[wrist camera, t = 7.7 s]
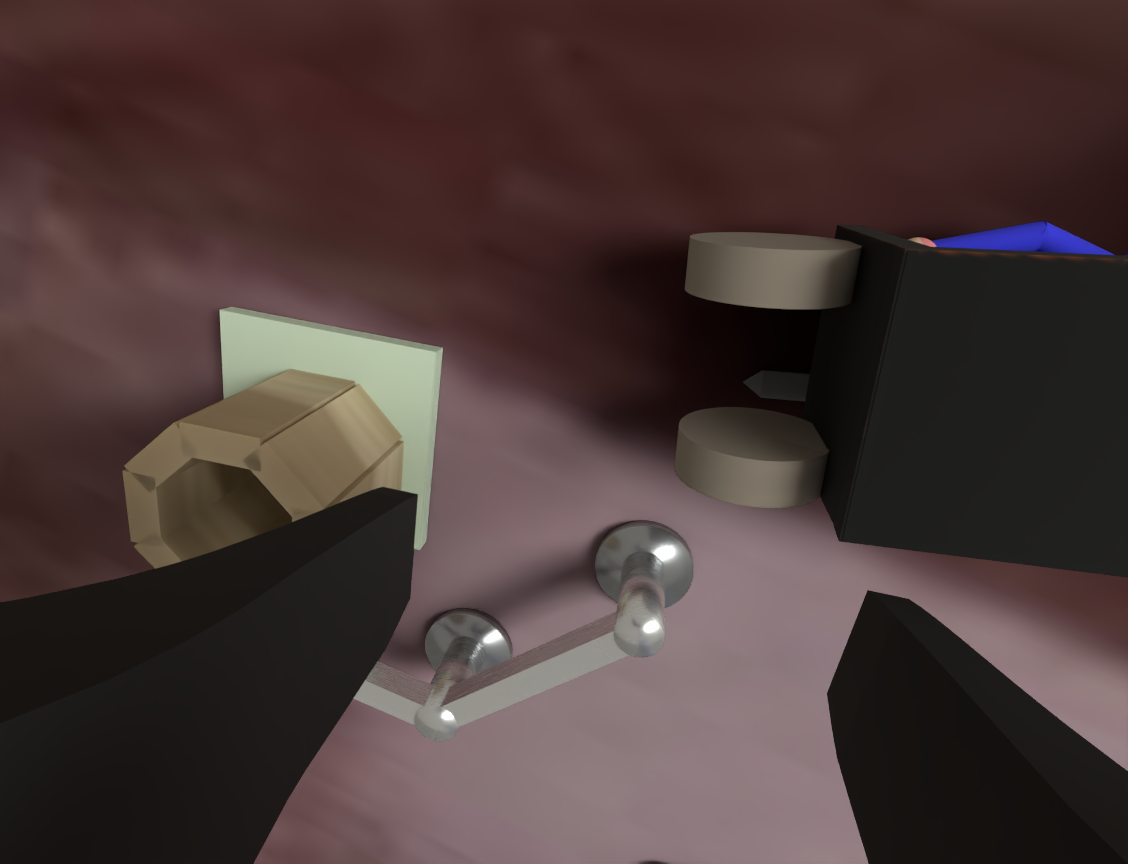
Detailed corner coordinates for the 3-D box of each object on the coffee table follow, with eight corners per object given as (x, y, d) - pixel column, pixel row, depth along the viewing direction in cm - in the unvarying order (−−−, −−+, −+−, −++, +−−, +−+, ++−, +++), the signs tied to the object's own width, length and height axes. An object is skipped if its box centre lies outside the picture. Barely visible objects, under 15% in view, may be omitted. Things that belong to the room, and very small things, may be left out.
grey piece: (651, 723, 24) (648, 815, 20) (265, 630, 25) (199, 702, 21) (703, 532, 21) (710, 602, 17) (261, 438, 22) (183, 485, 18)
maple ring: (398, 543, 22) (325, 637, 17) (247, 510, 22) (137, 593, 18) (406, 390, 20) (326, 451, 15) (241, 359, 20) (114, 408, 16)
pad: (426, 541, 22) (420, 550, 22) (239, 499, 23) (228, 507, 22) (442, 347, 20) (436, 352, 19) (231, 306, 20) (219, 309, 20)
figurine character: (686, 426, 21) (1243, 483, 17) (655, 539, 14) (1563, 670, 11) (704, 211, 19) (1353, 224, 15) (678, 221, 12) (1857, 249, 8)
